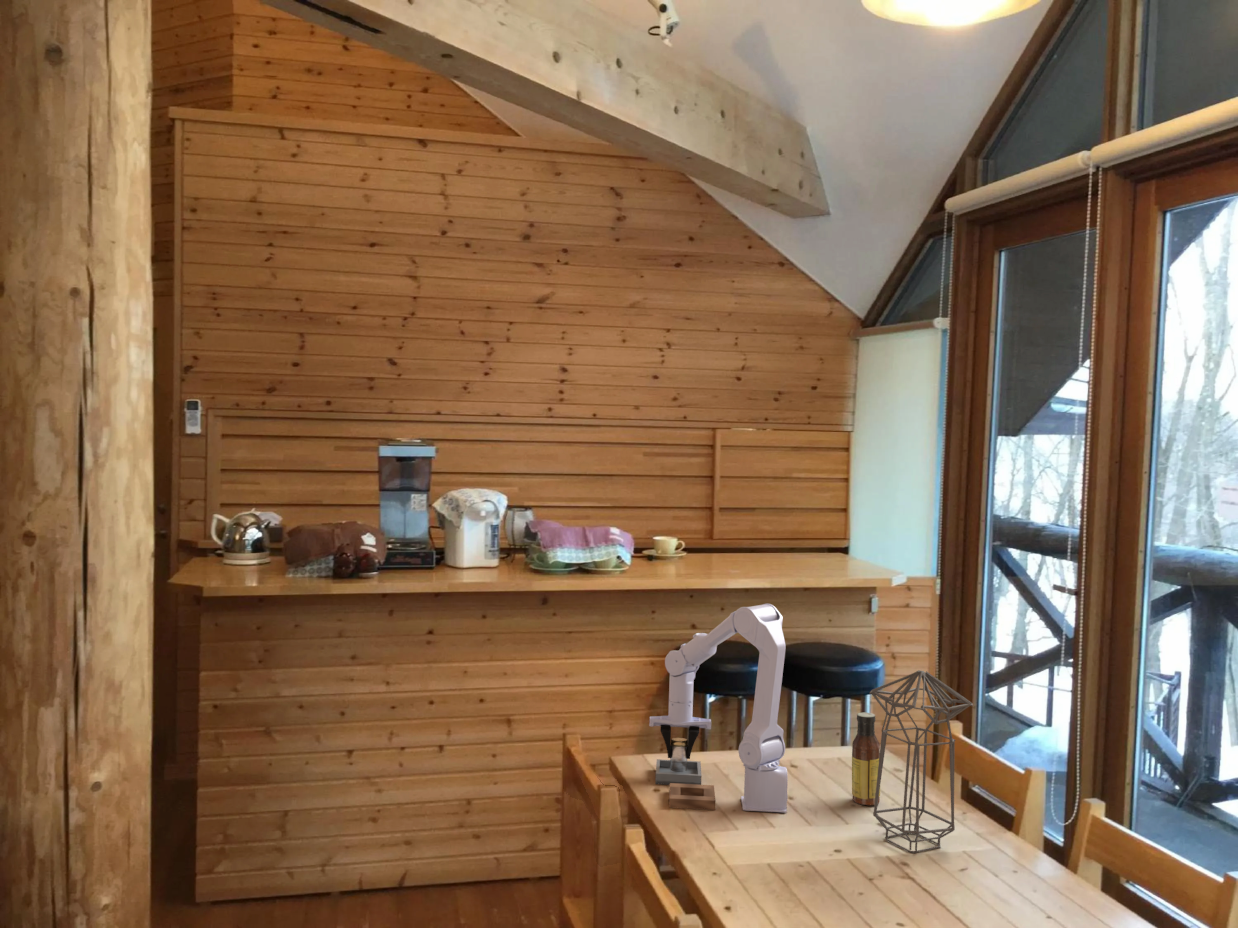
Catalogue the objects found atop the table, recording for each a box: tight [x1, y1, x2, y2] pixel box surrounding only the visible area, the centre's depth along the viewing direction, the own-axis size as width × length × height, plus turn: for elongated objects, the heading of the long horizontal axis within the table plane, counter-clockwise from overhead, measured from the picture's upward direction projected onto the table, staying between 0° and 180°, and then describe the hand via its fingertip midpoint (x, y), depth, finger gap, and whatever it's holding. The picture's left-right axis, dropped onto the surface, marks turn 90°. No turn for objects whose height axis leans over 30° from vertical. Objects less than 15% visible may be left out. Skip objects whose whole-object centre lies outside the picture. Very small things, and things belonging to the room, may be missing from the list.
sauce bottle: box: [851, 711, 881, 807], centre depth 228 cm, size 6×6×20 cm
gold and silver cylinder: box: [669, 737, 688, 772], centre depth 240 cm, size 4×4×7 cm
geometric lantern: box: [869, 669, 974, 854], centre depth 205 cm, size 16×16×35 cm
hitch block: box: [668, 783, 717, 811], centre depth 225 cm, size 10×10×2 cm
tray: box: [655, 758, 703, 786], centre depth 240 cm, size 11×11×2 cm
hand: (678, 757), depth 240 cm, fingers closed on gold and silver cylinder, 4 cm apart
